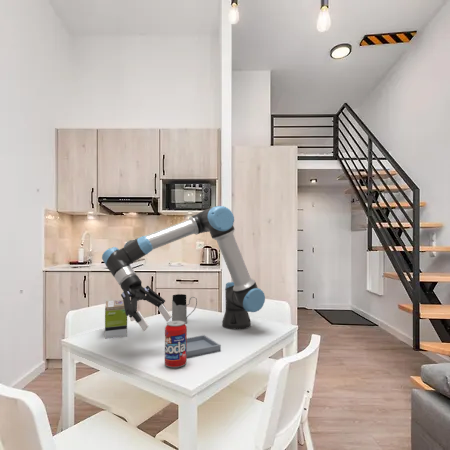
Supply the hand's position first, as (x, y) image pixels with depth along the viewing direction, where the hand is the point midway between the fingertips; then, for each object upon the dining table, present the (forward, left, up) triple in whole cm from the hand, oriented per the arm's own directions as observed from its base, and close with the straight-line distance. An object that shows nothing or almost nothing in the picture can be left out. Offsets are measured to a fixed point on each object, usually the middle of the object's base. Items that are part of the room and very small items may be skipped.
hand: (158, 323), depth 111 cm
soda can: (-5, +6, -14) cm, 16 cm away
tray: (-18, -5, -14) cm, 23 cm away
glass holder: (-29, -46, -14) cm, 56 cm away
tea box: (+7, -44, -14) cm, 47 cm away
